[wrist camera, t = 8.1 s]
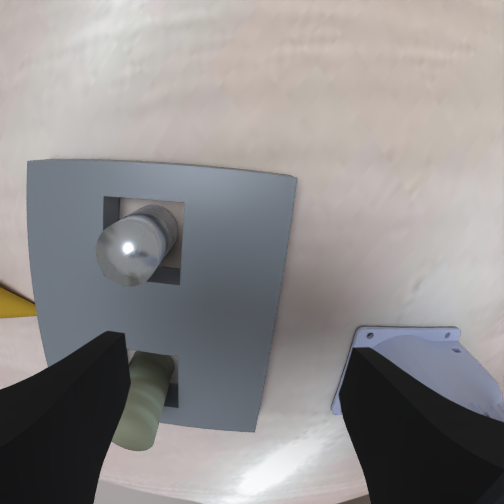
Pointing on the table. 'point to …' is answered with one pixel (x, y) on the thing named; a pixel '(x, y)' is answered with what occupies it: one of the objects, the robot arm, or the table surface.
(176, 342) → the pin board
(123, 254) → the grey metal pin
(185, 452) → the table surface
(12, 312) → the ice cream cone
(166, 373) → the sage green pin
